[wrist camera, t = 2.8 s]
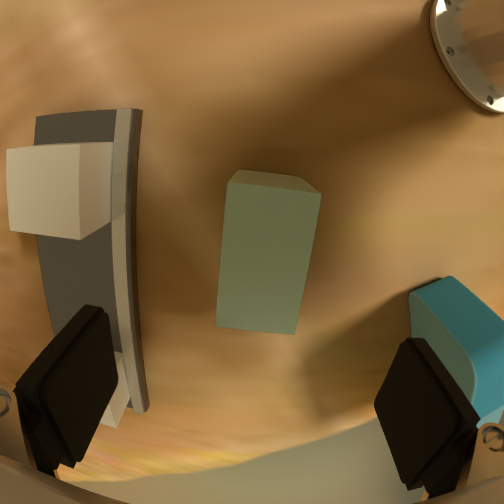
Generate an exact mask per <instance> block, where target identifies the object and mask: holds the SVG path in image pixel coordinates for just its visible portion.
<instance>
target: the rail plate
mask: <svg viewBox="0 0 504 504" xmlns="http://www.w3.org/2000/svg"><path fill="white" fill-rule="evenodd" d="M142 112H143V110H139V109H132V108H125V109H115V110H96V111H83V112H71V113H62V114H53V115H45V116H38V117H36V126H35V141H34V146H35V145H44V144H60V143H87V142H114V147H113V164H112V198H111V220H112V221H111V222H109V223H108V224H106V225H104V226H103V227H101V228H99V229H98V230H96V231H94V232H93V233H91V234H90V235H88V236H86V237H85V238H83V239H82V240H76V239H68V238H61V237H53V236H46V235H39V234H37V242H38V251H39V259H40V266H41V272H42V279H43V284H44V290H45V295H46V300H47V305H48V310H49V314H50V319H51V323H52V327H53V331H54V335H55V336H56V335H57V334H58V333H59V332H60V331H61V330H62V329H63V327H64V326H65V325H66V324H67V323H68V322H69V321H70V320H71V319H72V318H73V316H74V315H75V314H76V313H77V312H78V311H79V310H80V309H81V308H82V307H83V306H84V305H85V304H89V305H94V306H99V307H102V308H103V309H104V312H105V313H108V315H109V320H110V328H111V335H112V342H113V348H114V351H115V352H120V353H123V359H124V365H125V370H126V376H127V381H128V386H129V392H130V396H131V397H130V399H129V401H128V404H127V406H126V407H129V408H133V410H134V412H135V413H139V414H143V415H144V413H145V412H147V410H148V407H149V398H148V392H147V385H146V377H145V370H144V362H143V353H142V343H141V333H140V321H139V308H138V291H137V268H136V196H137V173H138V157H139V143H140V132H141V122H142Z"/></svg>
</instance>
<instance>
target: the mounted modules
mask: <svg viewBox="0 0 504 504" xmlns="http://www.w3.org/2000/svg"><path fill="white" fill-rule="evenodd" d="M113 147H114V142H87V143H60V144H44V145H35V146H26V147H18V148H10V149H7V200H8V215H9V225H10V231H17V232H24V233H31V234H39V235H46V236H53V237H61V238H68V239H76V240H82V239H83V238H85V237H86V236H88V235H90V234H91V233H93V232H94V231H96V230H98V229H99V228H101V227H103V226H104V225H106V224H108V223H109V222H111V221H112V220H111V198H112V164H113ZM114 354H115V360H116V366H117V371H118V377H119V380H118V385H117V388H116V390H115V392H114V394H113V396H112V398H111V400H110V402H109V404H108V406H107V408H106V410H105V412H104V414H103V416H102V418H101V420H100V423H101V424H104V425H107V426H111V427H114V428H117V427H118V424H119V422H120V420H121V417H122V415H123V413H124V410H125V408H126V406H127V404H128V401H129V399H130V397H131V396H130V392H129V386H128V381H127V376H126V370H125V365H124V359H123V353H120V352H115V351H114Z"/></svg>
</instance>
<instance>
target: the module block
mask: <svg viewBox="0 0 504 504" xmlns="http://www.w3.org/2000/svg"><path fill="white" fill-rule="evenodd" d="M321 196H322V194H321V193H320V192H318V191H317V190H316V189H315V188H314V187H312V186H311V185H310V184H309V183H307V182H306V181H305V180H304V179H302V178H301V177H298V176H291V175H283V174H276V173H268V172H260V171H252V170H243V169H238V170H237V172H236V173H235V174H234V175H233V176H232V177H231V179H230V180H229V181H228V183H227V192H226V202H225V212H224V223H223V234H222V245H221V256H220V268H219V280H218V293H217V306H216V320H215V327H223V328H231V329H240V330H249V331H258V332H268V333H278V334H289V335H294V333H295V329H296V324H297V320H298V315H299V311H300V306H301V302H302V297H303V292H304V287H305V283H306V278H307V273H308V268H309V263H310V257H311V252H312V247H313V242H314V236H315V231H316V225H317V219H318V214H319V208H320V202H321Z"/></svg>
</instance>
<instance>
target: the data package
mask: <svg viewBox="0 0 504 504" xmlns="http://www.w3.org/2000/svg"><path fill="white" fill-rule="evenodd" d="M408 302H409V312H410V323H411V335H412V338H424V339H425V340H426V341H427V343H428V344H429V345H430V347H431V348H432V349H433V351H434V352H435V353H436V355H437V356H438V357H439V359H440V360H441V362H442V363H443V364H444V366H445V367H446V368H447V370H448V371H449V373H450V374H451V375H452V377H453V378H454V380H455V381H456V383H457V384H458V385H459V387H460V388H461V390H462V391H463V393H464V394H465V396H466V397H467V399H468V400H469V402H470V403H471V405H472V406H473V408H474V409H475V411H476V412H477V414H478V415H479V417H480V418H481V420H480V421H479V422H478V424H477V425H476V426H477V428H478V429H479V428H480V427H481V426H482V425H483V424H485V423H489V422H492V423H497V424H498V422H499V420H500V418H501V415H502V412H503V410H504V321H503V320H502V319H501V318H500V317H499V316H498V315H497V314H496V313H495V312H494V311H492V310H491V309H490V308H489V307H488V306H487V305H486V304H485V303H484V302H482V301H481V300H480V299H479V298H478V297H477V296H476V295H475V294H473V293H472V292H471V291H470V290H469V289H468V288H466V287H465V286H464V285H463V284H462V283H460V282H459V281H458V280H457V279H456V278H454V277H453V276H447V277H445V278H442V279H440V280H438V281H435V282H433V283H431V284H428V285H426V286H424V287H421V288H419V289H416V290H414V291H412V292H410V294H409V297H408Z"/></svg>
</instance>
